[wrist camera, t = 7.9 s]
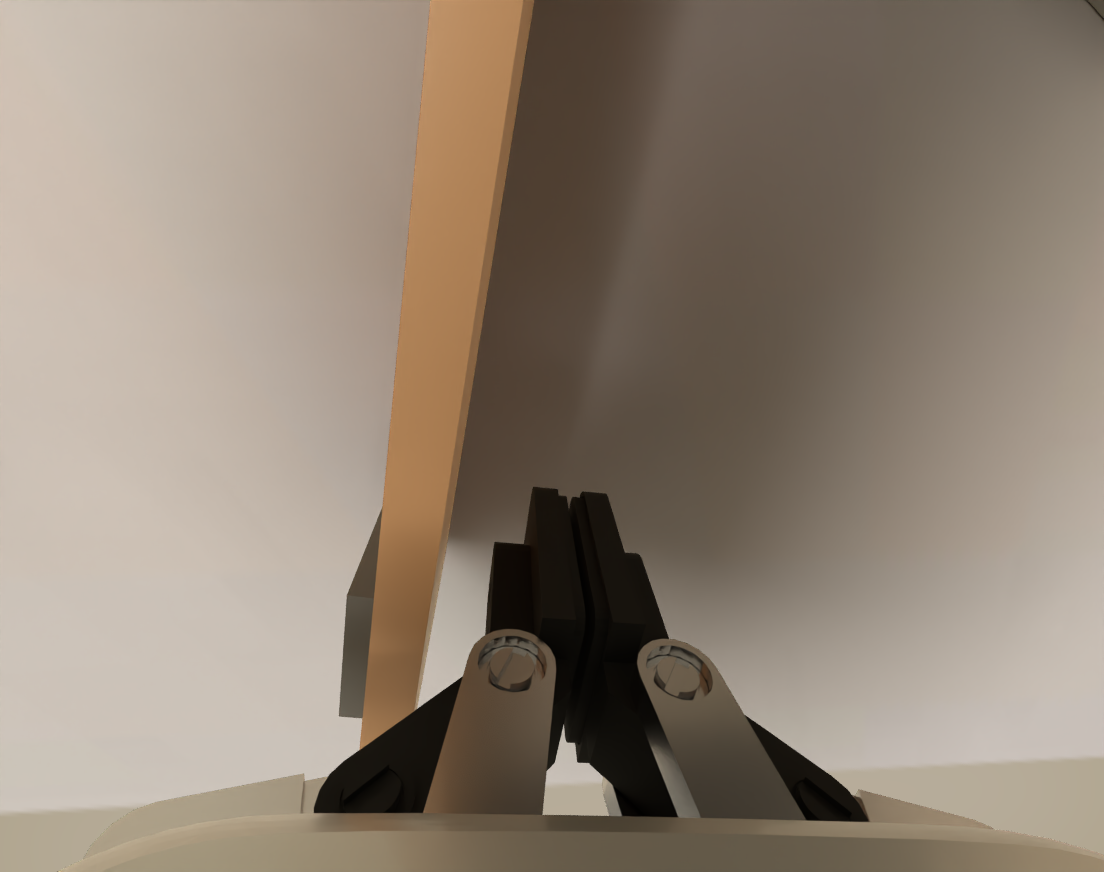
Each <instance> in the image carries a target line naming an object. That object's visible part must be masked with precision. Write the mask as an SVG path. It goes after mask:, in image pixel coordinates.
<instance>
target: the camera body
mask: <svg viewBox="0 0 1104 872" xmlns="http://www.w3.org/2000/svg"><path fill="white" fill-rule="evenodd" d="M1088 1H1089V2H1090V3H1091V5H1092V6H1093V7H1094V8H1095V9H1096V10H1097V11H1098V13H1099V14H1100V15H1101V16H1102V17H1103V18H1104V0H1088Z"/></svg>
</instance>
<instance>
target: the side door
mask: <svg viewBox="0 0 1104 872" xmlns="http://www.w3.org/2000/svg"><path fill="white" fill-rule="evenodd" d="M533 6H534V0H430V11H429V22H428V32H427V43H426V53H425V64H424V74H423V85H422V96H421V106H420V117H419V127H418V138H417V148H416V159H415V170H414V180H413V191H412V201H411V212H410V222H409V233H408V244H407V254H406V265H405V275H404V286H403V296H402V307H401V317H400V328H399V339H398V349H397V360H396V370H395V381H394V391H393V402H392V413H391V423H390V434H389V444H388V455H387V465H386V476H385V487H384V497H383V507H382V509H381V512H380V514H379V517H378V519H377V522H376V524H375V527H374V529H373V532H372V534H371V537H370V539H369V542H368V544H367V547H366V549H365V552H364V554H363V557H362V559H361V562H360V564H359V567H358V569H357V572H356V574H355V577H354V579H353V582H352V584H351V587H350V589H349V592H348V594H347V602H346V617H345V632H344V647H343V662H342V677H341V692H340V707H339V716H341V717H353V718H363V719H362V730H361V740H360V749H362V748H363V747H365V746H366V745H367V744H369V743H370V742H372V741H373V740H374V739H376V738H377V737H379V736H380V735H381V734H383V733H384V732H386V731H387V730H388V729H390V728H391V727H393V726H394V725H395V724H397V723H398V722H400V721H401V720H402V719H404V718H405V717H407V716H408V715H409V714H411V713H412V712H414V711H415V710H416V709H417V706H418V700H419V695H420V689H421V684H422V679H423V673H424V668H425V662H426V657H427V651H428V646H429V640H430V635H431V629H432V624H433V619H434V613H435V608H436V602H437V597H438V591H439V586H440V580H441V575H442V569H443V564H444V559H445V553H446V548H447V541H448V535H449V529H450V523H451V516H452V510H453V504H454V498H455V492H456V485H457V479H458V473H459V467H460V460H461V454H462V448H463V442H464V435H465V429H466V423H467V417H468V411H469V404H470V398H471V392H472V386H473V379H474V373H475V367H476V361H477V355H478V348H479V342H480V336H481V330H482V323H483V317H484V311H485V305H486V299H487V292H488V286H489V280H490V274H491V267H492V261H493V255H494V249H495V243H496V236H497V230H498V224H499V218H500V211H501V205H502V199H503V193H504V187H505V180H506V174H507V168H508V162H509V155H510V149H511V143H512V137H513V130H514V124H515V118H516V112H517V106H518V99H519V93H520V87H521V81H522V74H523V68H524V62H525V56H526V50H527V43H528V37H529V31H530V25H531V18H532V12H533Z"/></svg>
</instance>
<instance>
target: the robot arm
mask: <svg viewBox="0 0 1104 872" xmlns="http://www.w3.org/2000/svg"><path fill="white" fill-rule="evenodd" d="M563 724H564V729H565V738H566V742H568V743H575V745H576V754H577V762H578V763H589V764H590V765H591V766H592V767H593V768H595V769H596V770H597V771H598V772H599V773H600V774H601V775H602V776H603V780H602V788H603V795H604V799H605V802H606V806H607V809H608V813H609V816H578V815H577V816H576V815H542V813H543V803H544V792H545V782H546V771H547V770H548V769H549V768H550V767H551V766H552V765H553V764H554V763H555V759H556V755H557V750H558V746H559V741H560V738H561V733H562V729H563ZM57 872H1104V855H1102V854H1100V853H1097V852H1094V851H1091V850H1088V849H1084V848H1081V847H1077V846H1073V845H1070V844H1067V843H1063V842H1060V841H1056V840H1052V839H1049V838H1043V837H1038V836H1032V835H1027V834H1021V833H1016V832H1010V831H1004V830H995V829H993V828H992V827H990V826H987V825H985V824H983V823H980V822H978V821H976V820H973V819H969V818H965V817H962V816H958V815H954V814H950V813H946V812H943V811H938V810H935V809H931V808H927V807H923V806H920V805H916V804H912V803H908V802H904V801H901V800H897V799H893V798H889V797H886V796H882V795H878V794H874V793H870V792H866V791H863V790H858V791H857V793H856V794H855V796H853V795H851V794H850V792H849V791H848V790H847V789H846V788H845V787H844V786H843V785H842V784H840V783H839V782H838V781H837V780H836V779H834V778H833V777H832V776H831V775H829V774H828V773H826V772H825V771H824V770H822V769H821V768H819V767H818V766H816V765H815V764H814V763H812V762H811V761H809V760H808V759H807V758H805V757H804V756H802V755H801V754H799V753H798V752H797V751H795V750H794V749H792V748H791V747H790V746H788V745H787V744H785V743H784V742H782V741H781V740H780V739H778V738H777V737H775V736H774V735H773V734H771V733H770V732H768V731H767V730H765V729H764V728H763V727H761V726H760V725H758V724H757V723H756V722H754V721H753V720H751V719H750V718H748V717H747V716H746V715H744V713H743V712H742V710H741V708H740V707H739V705H738V703H737V702H736V700H735V698H734V696H733V695H732V693H731V691H730V690H729V688H728V686H727V685H726V683H725V681H724V679H723V678H722V676H721V674H720V673H719V671H718V669H717V668H716V666H715V665H714V664H713V663H712V661H711V660H710V659H709V658H708V657H707V656H706V655H705V654H703V653H702V652H701V651H700V650H699V649H697V648H695V647H693V646H691V645H689V644H687V643H685V642H681V641H678V640H675V639H669V637H668V634H667V632H666V629H665V626H664V623H663V620H662V617H661V614H660V611H659V608H658V605H657V602H656V599H655V596H654V593H653V590H652V588H651V585H650V582H649V579H648V576H647V573H646V570H645V567H644V564H643V561H642V559H641V557H640V555H639V554H636V553H625V552H624V549H623V546H622V542H621V539H620V536H619V532H618V529H617V526H616V522H615V519H614V516H613V512H612V509H611V506H610V502H609V499H608V496H607V494H603V493H593V492H582V493H581V495H580V498H579V497H572V499H571V503H570V508H568V502H567V497H566V496H559V494H558V489H550V488H540V487H533V489H532V494H531V501H530V507H529V514H528V521H527V527H526V534H525V540H524V544H513V543H501V542H495V543H494V549H493V557H492V565H491V573H490V582H489V592H488V603H487V617H486V633H485V636H483V637H482V638H481V639H480V640H479V641H478V642H476V643H475V644H474V646H473V648H472V650H471V652H470V654H469V657H468V660H467V664H466V667H465V671H464V674H463V677H461V678H460V679H458V680H457V681H456V682H454V683H453V684H451V685H450V686H449V687H447V688H446V689H444V690H443V691H442V692H440V693H439V694H437V695H436V696H435V697H433V698H432V699H430V700H429V701H428V702H426V703H425V704H423V705H422V706H421V707H419V708H418V709H416V710H415V711H414V712H412V713H411V714H409V715H408V716H407V717H405V718H404V719H402V720H401V721H400V722H398V723H397V724H395V725H394V726H393V727H391V728H390V729H388V730H387V731H386V732H384V733H383V734H381V735H380V736H379V737H377V738H376V739H374V740H373V741H372V742H370V743H369V744H367V745H366V746H365V747H363V748H362V749H360V750H359V751H358V752H356V753H355V754H353V755H352V756H351V757H349V758H348V759H346V760H345V761H344V762H343V763H341V764H340V765H339V766H338V767H337V768H336V769H335V770H334V771H333V772H332V773H331V774H330V775H329V776H328V777H323V778H318V779H313V780H307V781H305V779H304V774H299V775H294V776H289V777H284V778H278V779H273V780H268V781H263V782H258V783H252V784H247V785H242V786H237V787H232V788H226V789H221V790H216V791H211V792H206V793H200V794H195V795H190V796H185V797H180V798H174V799H169V800H164V801H159V802H155V803H152V804H149V805H146V806H143V807H140V808H138V809H135V810H133V811H131V812H130V813H128V814H127V815H125V816H124V817H122V818H120V819H119V820H117V821H116V822H114V823H113V824H111V825H110V826H109V827H108V828H107V829H106V830H105V831H104V832H103V833H102V834H101V835H100V836H99V837H98V838H97V840H95V841H94V842H93V843H92V845H91V846H90V848H89V850H88V851H87V853H86V855H85V856H84V858H83V860H80V861H78V862H76V863H74V864H72V865H70V866H68V867H66V868H64V869H62V870H60V871H57Z"/></svg>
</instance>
